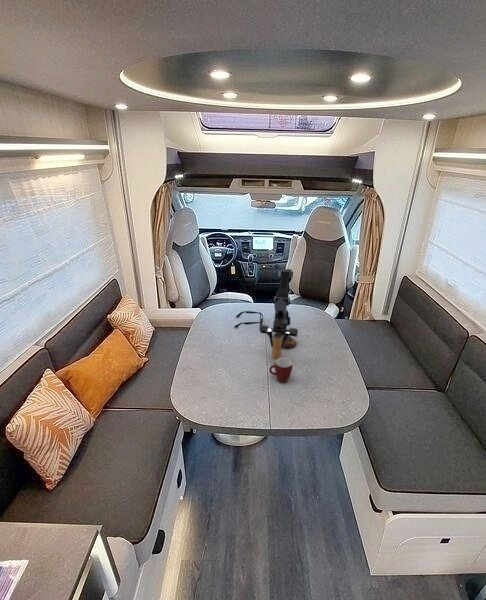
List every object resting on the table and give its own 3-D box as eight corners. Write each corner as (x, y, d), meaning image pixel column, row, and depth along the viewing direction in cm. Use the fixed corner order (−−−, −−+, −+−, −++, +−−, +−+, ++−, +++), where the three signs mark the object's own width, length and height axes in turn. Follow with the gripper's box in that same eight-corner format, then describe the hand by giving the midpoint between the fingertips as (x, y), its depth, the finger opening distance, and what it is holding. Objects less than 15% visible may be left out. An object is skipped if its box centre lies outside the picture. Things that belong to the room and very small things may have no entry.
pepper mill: (269, 356, 158) (271, 333, 152) (278, 353, 160) (279, 331, 154) (274, 361, 154) (276, 338, 148) (283, 358, 156) (284, 336, 151)
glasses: (262, 330, 194) (263, 323, 192) (234, 328, 193) (234, 321, 191) (262, 318, 209) (263, 311, 207) (236, 316, 209) (236, 309, 207)
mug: (268, 384, 145) (269, 366, 141) (269, 374, 152) (269, 356, 148) (291, 386, 144) (293, 368, 140) (290, 375, 151) (292, 357, 147)
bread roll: (282, 350, 171) (282, 341, 170) (273, 342, 181) (273, 334, 180) (299, 347, 176) (300, 338, 174) (290, 340, 186) (290, 332, 184)
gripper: (260, 310, 152) (256, 341, 147) (299, 314, 150) (296, 346, 144) (262, 317, 162) (258, 347, 157) (298, 321, 160) (295, 351, 154)
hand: (276, 347), depth 153 cm, fingers closed on pepper mill, 5 cm apart
